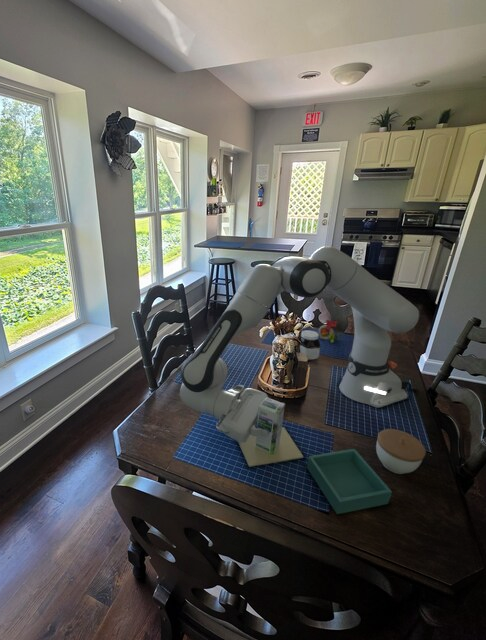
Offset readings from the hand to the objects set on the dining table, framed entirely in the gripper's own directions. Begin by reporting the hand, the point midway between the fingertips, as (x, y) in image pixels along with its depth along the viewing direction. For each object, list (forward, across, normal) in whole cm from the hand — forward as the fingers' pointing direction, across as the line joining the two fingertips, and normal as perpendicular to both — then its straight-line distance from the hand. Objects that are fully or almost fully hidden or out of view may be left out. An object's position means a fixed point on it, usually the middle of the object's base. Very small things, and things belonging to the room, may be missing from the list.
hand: (273, 422), depth 90 cm
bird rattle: (+3, +80, +9) cm, 81 cm away
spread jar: (-4, +58, +9) cm, 59 cm away
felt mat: (-1, 0, +9) cm, 9 cm away
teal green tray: (+20, -3, +9) cm, 22 cm away
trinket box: (+31, +11, +9) cm, 34 cm away
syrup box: (-1, 0, +9) cm, 9 cm away
